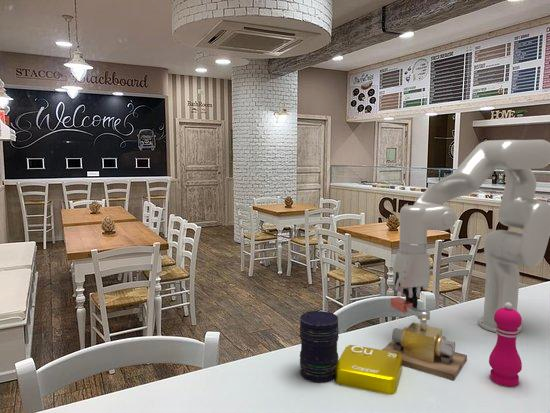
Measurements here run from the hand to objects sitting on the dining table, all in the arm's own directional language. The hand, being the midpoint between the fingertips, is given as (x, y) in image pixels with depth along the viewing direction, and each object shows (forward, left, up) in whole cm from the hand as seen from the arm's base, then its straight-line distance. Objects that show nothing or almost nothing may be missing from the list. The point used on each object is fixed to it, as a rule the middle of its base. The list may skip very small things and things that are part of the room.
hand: (411, 308), depth 127 cm
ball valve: (+8, +6, -9) cm, 14 cm away
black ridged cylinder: (+31, -13, -11) cm, 36 cm away
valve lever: (+5, +2, +1) cm, 6 cm away
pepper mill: (+7, +26, -11) cm, 29 cm away
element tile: (+24, -2, -11) cm, 27 cm away
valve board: (+8, +6, -11) cm, 15 cm away
